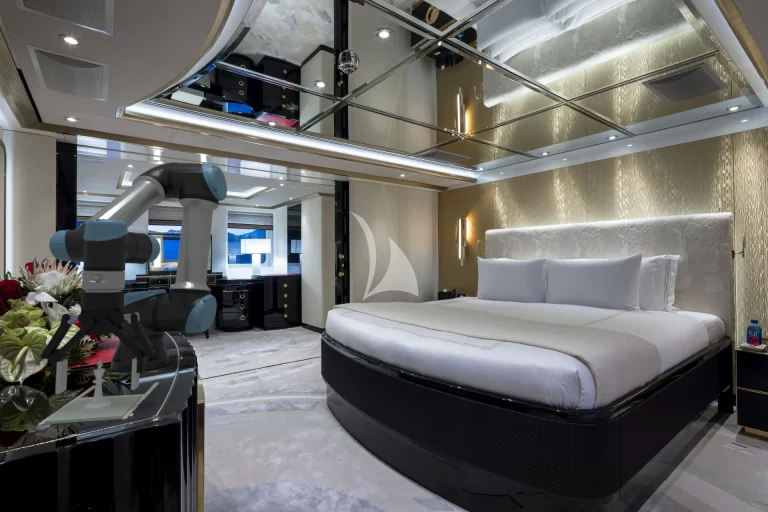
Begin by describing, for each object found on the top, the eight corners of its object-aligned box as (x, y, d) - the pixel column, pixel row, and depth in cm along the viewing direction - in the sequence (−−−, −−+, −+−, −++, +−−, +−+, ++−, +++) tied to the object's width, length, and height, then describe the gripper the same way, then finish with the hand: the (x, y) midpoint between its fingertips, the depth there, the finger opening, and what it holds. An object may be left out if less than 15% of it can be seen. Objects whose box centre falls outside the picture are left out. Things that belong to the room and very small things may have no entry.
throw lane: (93, 386, 98) (93, 384, 98) (159, 383, 103) (159, 381, 103) (37, 425, 74) (38, 422, 74) (126, 419, 79) (126, 416, 79)
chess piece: (89, 413, 80) (91, 364, 80) (78, 408, 82) (81, 360, 82) (115, 406, 84) (118, 360, 84) (105, 401, 86) (107, 356, 87)
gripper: (22, 291, 76) (16, 399, 76) (163, 292, 84) (159, 391, 83) (43, 288, 84) (38, 387, 83) (172, 290, 91) (168, 381, 90)
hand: (98, 390), depth 83 cm, fingers open, 13 cm apart
